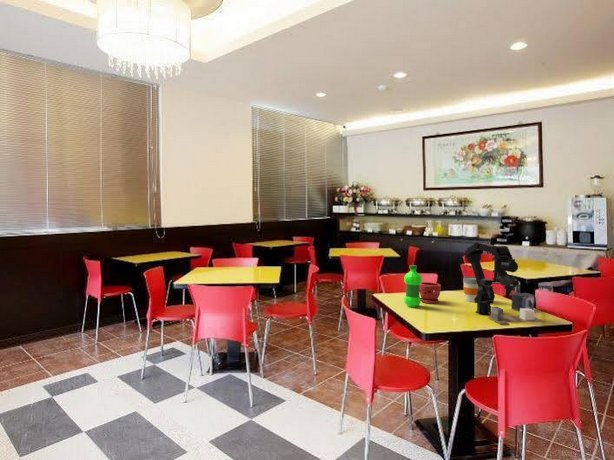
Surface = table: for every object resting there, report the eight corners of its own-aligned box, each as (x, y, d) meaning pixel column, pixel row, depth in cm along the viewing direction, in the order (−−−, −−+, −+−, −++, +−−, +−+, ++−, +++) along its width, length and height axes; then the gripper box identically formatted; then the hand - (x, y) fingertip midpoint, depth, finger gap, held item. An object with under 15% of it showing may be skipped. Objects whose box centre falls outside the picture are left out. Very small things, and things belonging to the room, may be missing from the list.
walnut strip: (500, 324, 209) (500, 310, 209) (488, 318, 221) (488, 305, 221) (544, 323, 211) (545, 310, 210) (530, 317, 223) (531, 304, 222)
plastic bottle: (401, 307, 245) (402, 266, 244) (406, 303, 255) (407, 264, 253) (418, 309, 241) (419, 267, 239) (422, 305, 250) (423, 265, 249)
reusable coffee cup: (479, 299, 268) (480, 276, 268) (486, 303, 256) (486, 280, 255) (460, 298, 270) (460, 276, 269) (465, 303, 257) (466, 279, 256)
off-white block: (525, 320, 214) (525, 310, 213) (519, 317, 219) (519, 308, 218) (534, 320, 214) (534, 310, 214) (528, 317, 219) (528, 308, 219)
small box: (519, 314, 231) (519, 295, 231) (510, 311, 238) (511, 293, 237) (534, 312, 234) (535, 294, 234) (525, 310, 241) (526, 292, 240)
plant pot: (436, 305, 251) (436, 286, 250) (415, 302, 259) (416, 283, 258) (443, 301, 261) (443, 283, 260) (423, 298, 269) (423, 280, 268)
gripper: (490, 271, 209) (488, 301, 210) (525, 271, 210) (524, 301, 211) (480, 268, 220) (479, 296, 221) (513, 268, 221) (512, 296, 222)
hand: (498, 298), depth 218 cm, fingers open, 9 cm apart
